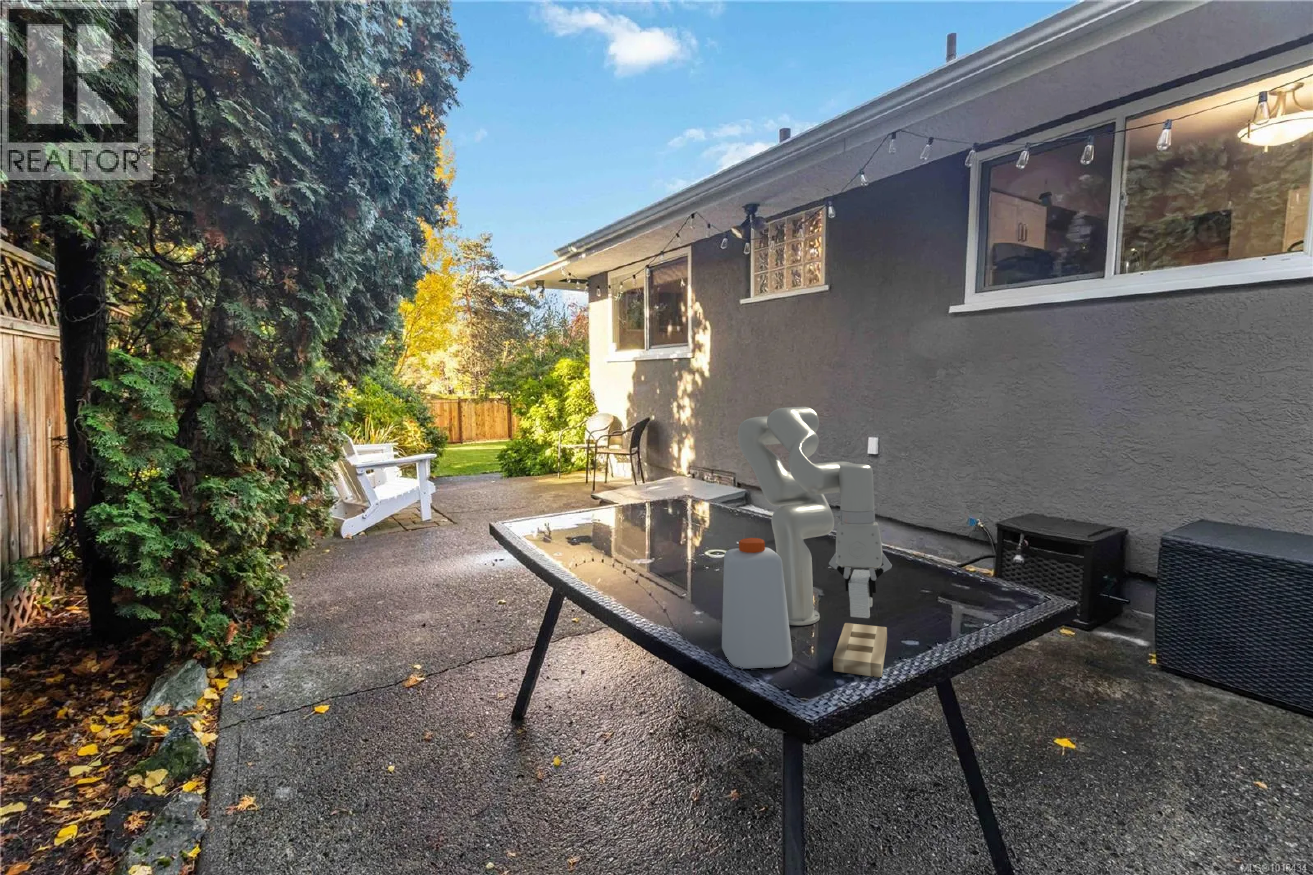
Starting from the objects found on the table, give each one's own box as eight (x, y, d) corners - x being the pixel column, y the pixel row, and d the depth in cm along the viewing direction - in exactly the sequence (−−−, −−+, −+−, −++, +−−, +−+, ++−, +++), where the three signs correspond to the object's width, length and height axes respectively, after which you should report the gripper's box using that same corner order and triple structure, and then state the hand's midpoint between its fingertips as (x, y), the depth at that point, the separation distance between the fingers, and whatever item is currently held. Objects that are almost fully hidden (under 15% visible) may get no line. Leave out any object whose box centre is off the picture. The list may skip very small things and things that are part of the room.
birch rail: (833, 671, 128) (833, 657, 128) (845, 634, 148) (844, 622, 148) (881, 677, 124) (881, 664, 124) (887, 639, 144) (886, 627, 144)
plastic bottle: (797, 668, 131) (793, 545, 129) (731, 673, 130) (726, 550, 128) (778, 641, 146) (773, 531, 145) (719, 646, 145) (714, 535, 143)
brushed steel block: (850, 618, 131) (848, 583, 130) (855, 601, 142) (854, 569, 141) (868, 619, 129) (867, 584, 129) (872, 603, 140) (871, 570, 140)
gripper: (818, 519, 135) (821, 597, 135) (895, 521, 128) (899, 603, 128) (823, 513, 142) (826, 588, 142) (897, 515, 135) (900, 593, 135)
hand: (861, 594), depth 135 cm, fingers closed on brushed steel block, 4 cm apart
